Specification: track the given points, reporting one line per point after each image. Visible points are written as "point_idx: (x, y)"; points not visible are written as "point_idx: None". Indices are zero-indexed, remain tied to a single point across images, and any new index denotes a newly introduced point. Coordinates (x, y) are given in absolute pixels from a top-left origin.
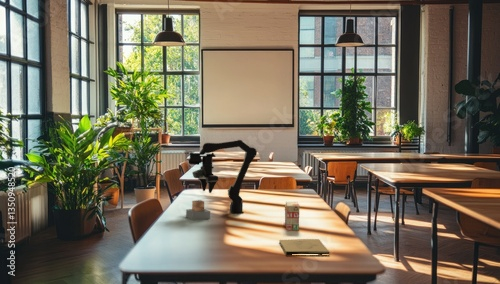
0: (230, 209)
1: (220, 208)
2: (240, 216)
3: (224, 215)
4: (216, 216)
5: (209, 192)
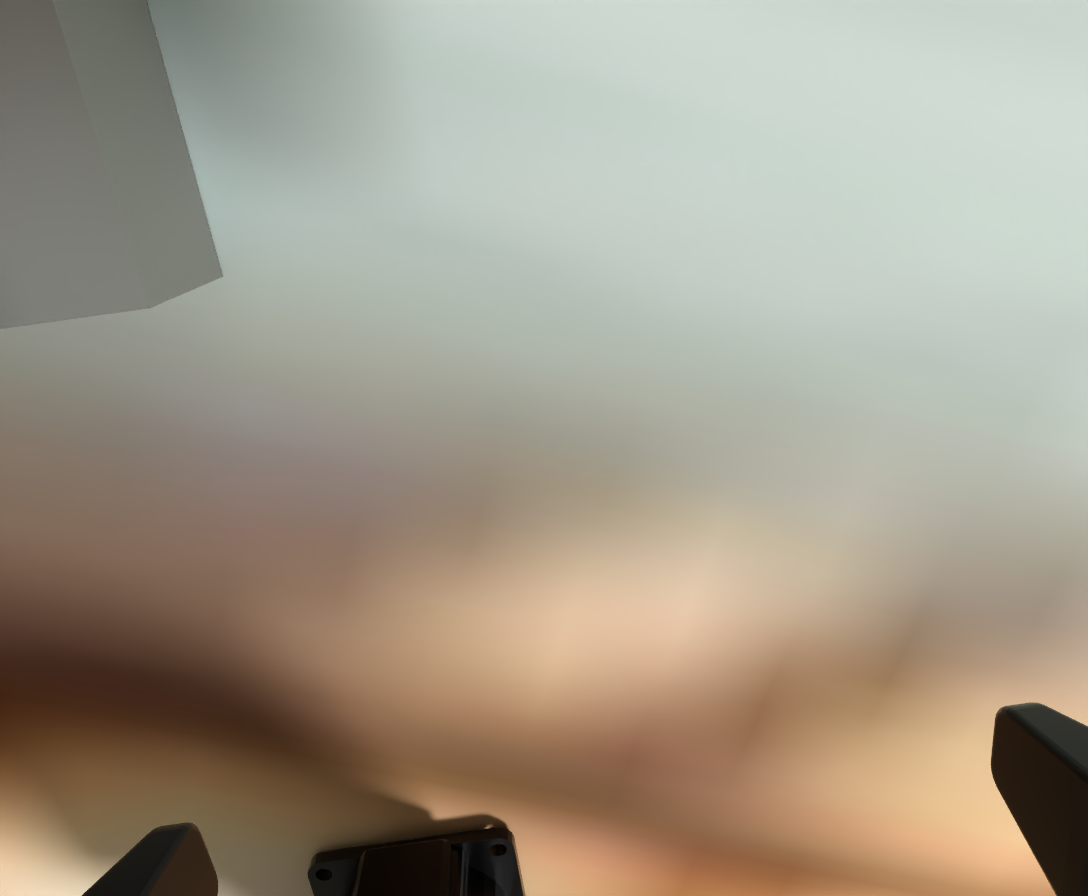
0: (409, 878)
1: (925, 773)
2: (54, 887)
3: (181, 683)
4: (81, 523)
5: (135, 848)
